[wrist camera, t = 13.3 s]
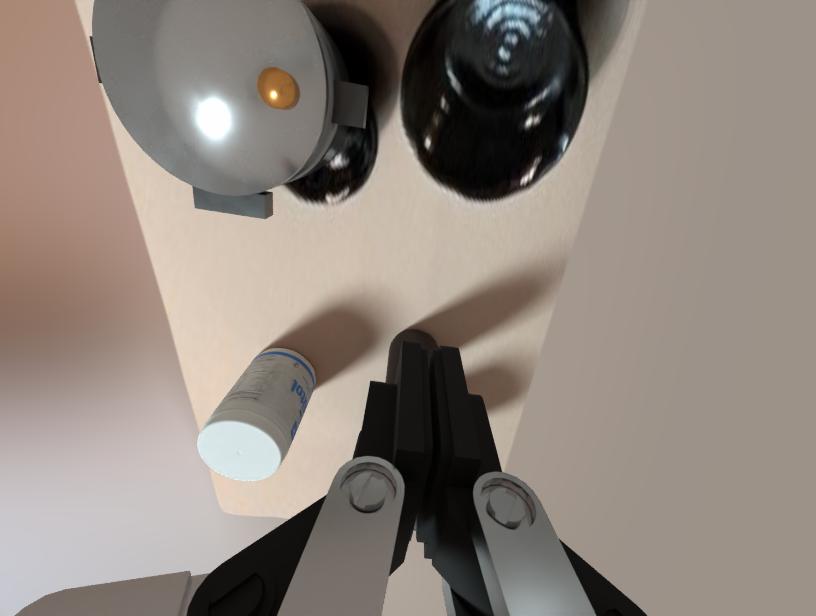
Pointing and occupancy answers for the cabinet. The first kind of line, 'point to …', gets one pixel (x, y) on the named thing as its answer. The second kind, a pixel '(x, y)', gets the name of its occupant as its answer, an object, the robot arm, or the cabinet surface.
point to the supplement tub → (258, 416)
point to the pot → (342, 113)
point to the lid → (215, 86)
